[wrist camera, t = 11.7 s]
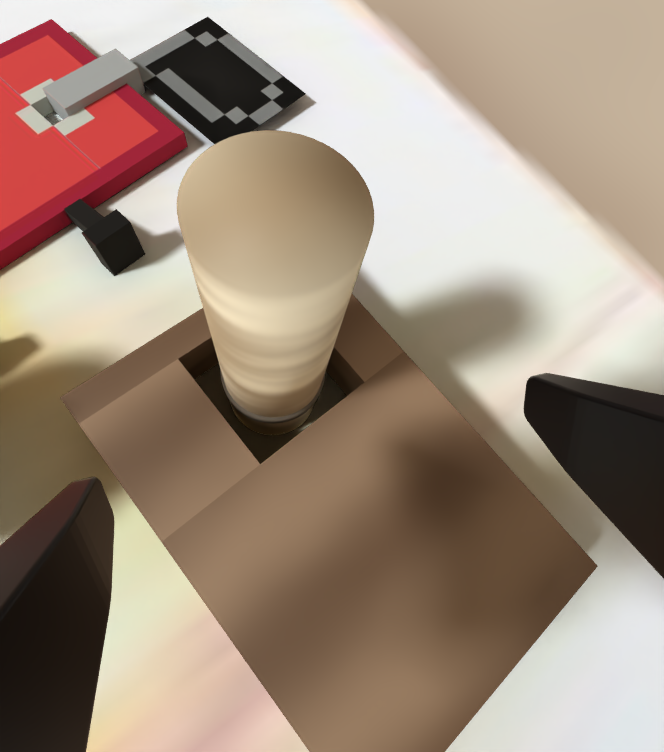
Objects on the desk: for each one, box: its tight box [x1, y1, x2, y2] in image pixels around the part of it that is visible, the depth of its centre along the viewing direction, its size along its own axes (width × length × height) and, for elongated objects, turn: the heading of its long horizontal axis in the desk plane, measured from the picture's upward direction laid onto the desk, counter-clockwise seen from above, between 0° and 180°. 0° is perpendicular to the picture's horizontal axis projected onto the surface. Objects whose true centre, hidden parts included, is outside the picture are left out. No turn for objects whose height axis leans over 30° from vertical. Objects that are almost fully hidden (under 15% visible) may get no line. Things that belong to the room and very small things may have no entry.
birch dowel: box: [177, 130, 374, 435], centre depth 15 cm, size 4×4×13 cm
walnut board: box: [60, 294, 597, 752], centre depth 19 cm, size 18×12×3 cm, turn 40°
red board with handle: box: [0, 17, 305, 276], centre depth 23 cm, size 30×3×15 cm
